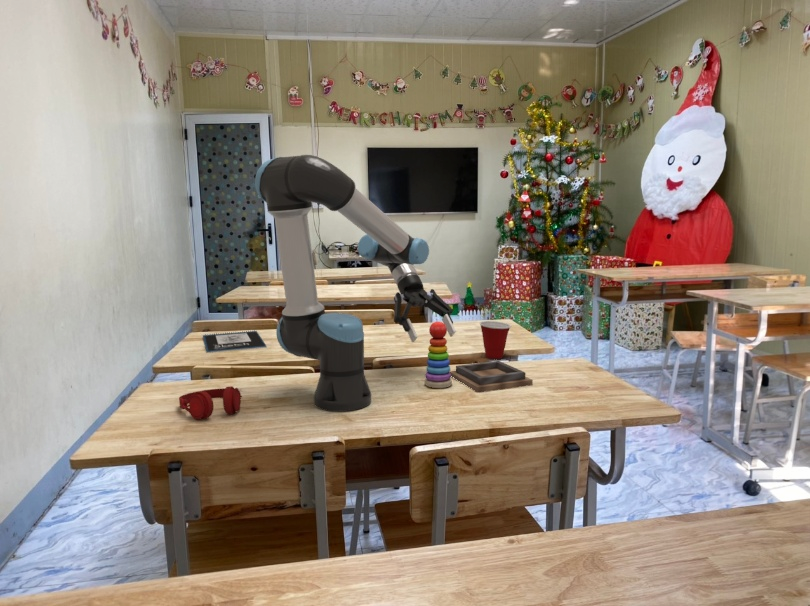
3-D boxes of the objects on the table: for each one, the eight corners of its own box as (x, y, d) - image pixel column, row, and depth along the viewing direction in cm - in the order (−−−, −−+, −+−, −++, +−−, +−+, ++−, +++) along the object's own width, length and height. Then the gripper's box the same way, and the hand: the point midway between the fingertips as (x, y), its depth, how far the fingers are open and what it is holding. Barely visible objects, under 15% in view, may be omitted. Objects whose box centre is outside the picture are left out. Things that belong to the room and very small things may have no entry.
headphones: (250, 413, 149) (231, 403, 167) (247, 385, 149) (229, 378, 167) (188, 424, 142) (176, 412, 160) (186, 395, 142) (173, 386, 159)
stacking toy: (457, 386, 172) (457, 322, 169) (435, 390, 167) (435, 325, 164) (440, 379, 178) (440, 318, 175) (419, 384, 174) (418, 321, 171)
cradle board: (477, 392, 165) (478, 380, 165) (449, 376, 182) (449, 365, 181) (532, 384, 172) (532, 373, 171) (500, 369, 188) (500, 359, 188)
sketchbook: (206, 355, 216) (206, 349, 215) (202, 338, 243) (202, 333, 243) (266, 349, 223) (266, 343, 223) (256, 333, 251) (256, 329, 251)
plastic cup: (510, 361, 198) (511, 326, 197) (478, 360, 201) (478, 325, 199) (511, 354, 209) (511, 320, 207) (480, 352, 211) (480, 319, 209)
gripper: (436, 285, 194) (463, 338, 184) (368, 291, 182) (393, 349, 172) (445, 270, 189) (473, 324, 179) (376, 276, 176) (402, 334, 166)
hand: (434, 336), depth 175 cm, fingers open, 13 cm apart
